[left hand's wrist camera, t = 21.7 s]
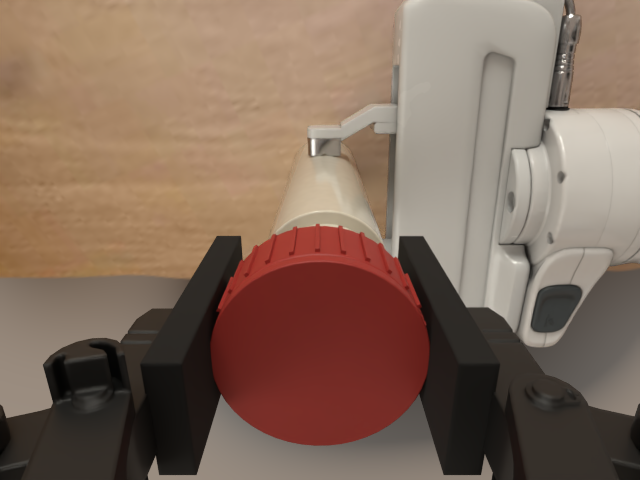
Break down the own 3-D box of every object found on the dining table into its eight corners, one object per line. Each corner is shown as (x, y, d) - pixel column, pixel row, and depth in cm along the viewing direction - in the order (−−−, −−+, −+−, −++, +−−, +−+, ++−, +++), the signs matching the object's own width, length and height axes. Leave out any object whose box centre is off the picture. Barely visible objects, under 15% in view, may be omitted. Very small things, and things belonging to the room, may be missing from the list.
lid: (253, 196, 11) (237, 227, 9) (444, 255, 12) (471, 297, 10) (207, 361, 13) (185, 419, 11) (374, 405, 14) (385, 468, 12)
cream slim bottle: (341, 208, 32) (363, 380, 14) (283, 186, 32) (232, 336, 14) (365, 151, 31) (424, 263, 13) (306, 127, 30) (281, 209, 12)
